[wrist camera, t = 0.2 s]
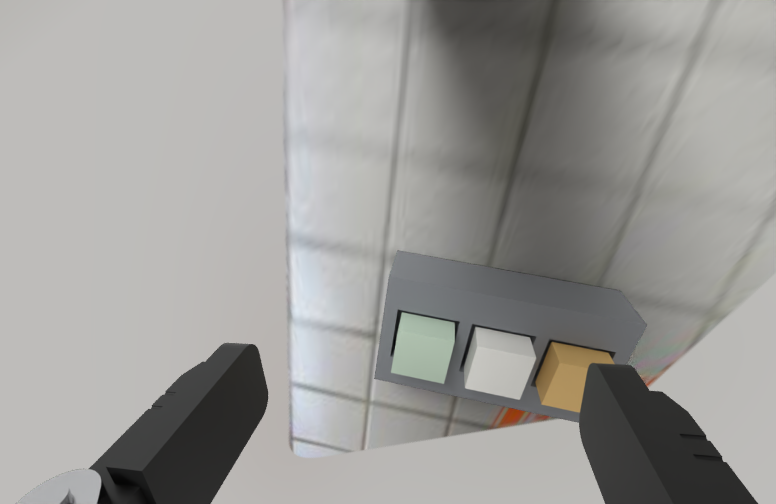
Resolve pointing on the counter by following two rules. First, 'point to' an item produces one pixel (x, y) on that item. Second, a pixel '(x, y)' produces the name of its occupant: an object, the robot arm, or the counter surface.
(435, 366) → the sage green key
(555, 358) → the amber key
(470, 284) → the keypad
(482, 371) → the off-white key
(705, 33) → the counter surface
